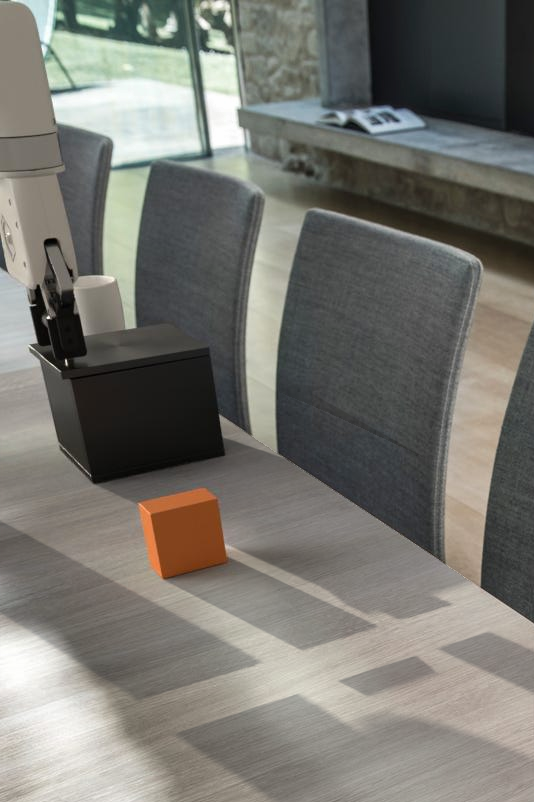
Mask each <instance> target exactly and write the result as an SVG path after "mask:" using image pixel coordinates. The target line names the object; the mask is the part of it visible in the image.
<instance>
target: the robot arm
mask: <svg viewBox="0 0 534 802" xmlns="http://www.w3.org/2000/svg"><path fill="white" fill-rule="evenodd" d="M56 119H57V118H56V113H55V109H54V104H53V99H52V94H51V89H50V84H49V78H48V73H47V68H46V62H45V57H44V52H43V48H42V43H41V38H40V32H39V28H38V24H37V19H36V17H35V15H34V13H33V11H32V10H31V8H30V7H29V6H28V5H26V4H25V3H22V2H20V1H15V0H0V239H1V244H2V245H1V246H2V251H3V255H4V259H5V266H6V269H7V271H8V274H9V276H11V277H12V278H13V279H14V280H16V281H17V282H18V283H20V284H21V285H23V286H25V289H26V296H27V301H28V303H29V311H30V317H31V321H32V326H33V331H34V334H35V338H36V343H38V344H39V345H40V346H49V345H51V346H52V350H53V355H54V357H55V358H56V359H57V360H64V359H70V358H77V357H83V356H86V354H87V349H86V344H85V339H84V334H83V329H82V324H81V319H80V315H79V310H78V307H77V303H76V298H75V295H74V287H73V284H74V283H75V282H76V281H77V279H78V277H79V271H78V270H79V269H78V264H77V258H76V257H77V256H76V253H75V247H74V242H73V237H72V233H71V228H70V223H69V220H68V215H67V210H66V206H65V203H64V197H63V196H64V195H62V190H61V187H60V183H59V179H58V176H57V174H60V173H63V172H65V171H66V165H65V160H64V154H63V148H62V145H61V139H60V134H59V129H58V125H57V120H56ZM46 309H47V312H48V316H49V318H47V319H46V323H47V327H48V328H47V327H46V326H45V325H44V324H43V323H42V321H41V314H42V312H43V311H44V310H46Z"/></svg>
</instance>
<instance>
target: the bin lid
mask: <svg viewBox="0 0 534 802" xmlns="http://www.w3.org/2000/svg"><path fill="white" fill-rule="evenodd" d="M47 318H49V316H48V312H47V309H46V310H44V311H43V312H42V314H41V321H42V323H43V324H44V325H45V326H46V327H47V323H46V319H47ZM47 328H48V327H47ZM125 329H126V330H119V331H113V332H106V333H100V334H93V335H87V336H84V339H85V344H86V349H87V354H86V356H83V357H77V358H70V359H64V360H57V359H56V358H55V357H54V355H53V350H52V346H51V345H49V346H40V345H39V344H38V343H37V342H36V343H35V342H34V343H29V344H28V345H27V346H28V351H29V353H30V354H32V356H34V357H35V358H36V359H37V360H39V362H40V361H41V362H42V363H43V364H45V365H46V366H47V367H48V368H49V369H50V370H52V371H53V372H54V373H55V374H56V375H57V376H59V377H60V378H61V379H62V380H64V379H70V378H76V377H82V376H88V375H94V374H99V373H105V372H111V371H117V370H123V369H129V368H135V367H141V366H147V365H153V364H159V363H164V362H170V361H176V360H182V359H188V358H194V357H200V356H206V355H210V356H211V350H210V346H208V345H207V344H205V343H203V342H201V341H199V340H198V339H196V338H194V337H193V336H191V335H189V334H188V333H186V332H185V331H182V330H181V329H179V328H177V327H176V326H174V325H172V324H171V323H169V322H167V323H160V324H159V323H158V324H153V325H146V326H139V327H133V328H125Z"/></svg>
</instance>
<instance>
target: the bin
mask: <svg viewBox="0 0 534 802" xmlns="http://www.w3.org/2000/svg"><path fill="white" fill-rule="evenodd" d="M39 364H40V368H41V372H42V377H43V381H44V386H45V390H46V395H47V399H48V403H49V408H50V413H51V417H52V420H53V421H52V422H53V426H54V430H55V434H56V438H57V443H58V447H59V451H60V452H62V453H63V455H64V456H65V457H66V458H67V459H68V460H69V461H70V462H71V463H72V464H73V465H74V466H75V467H76V468H77V469H78V470H79V471H80V472H81V473H82V474H83V475H84V476H85V477H86V478H87V479H88V480H89V481H90V482H91V483H92V484H99V483H103V482H108V481H113V480H116V479H121V478H125V477H131V476H134V475H140V474H143V473H145V474H146V473H149V472H153V471H157V470H163V469H167V468H172V467H176V466H180V465H186V464H191V463H194V462H199V461H204V460H209V459H213V458H218V457H222V456H225V455H226V451H225V444H224V438H223V431H222V425H221V417H220V411H219V404H218V397H217V393H216V392H217V391H216V384H215V378H214V370H213V364H212V357H211V354H210V355H206V356H200V357H194V358H188V359H182V360H176V361H170V362H164V363H159V364H153V365H147V366H141V367H135V368H129V369H123V370H117V371H111V372H105V373H99V374H94V375H88V376H82V377H76V378H70V379H64V380H62V379H61V378H60V377H59V376H57V375H56V374H55V373H54V372H53V371H52V370H50V369H49V368H48V367H47V366H46V365H45V364H43V363H42V362H41V361H40V360H39Z"/></svg>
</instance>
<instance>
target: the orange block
mask: <svg viewBox="0 0 534 802" xmlns="http://www.w3.org/2000/svg"><path fill="white" fill-rule="evenodd" d="M137 505H138V509H139V514H140V518H141V524H142V525H141V526H142V530H143V534H144V541H145V546H146V550H147V555H148V560H149V565H150V567H151V568H152V569H153V571H155V573H157V575H158V576H159V577H160V578H161V579H168V578H171V577H175V576H179V575H183V574H187V573H191V572H194V571H198V570H202V569H206V568H209V567H213V566H217V565H221V564H225V563H228V558H227V551H226V544H225V538H224V532H223V525H222V518H221V511H220V506H219V505H220V504H219V499H218V497H216V496H215V495H214V494H212V493H211V492H210V491H209V490H208V489H206V488H205V487H201V488H196V489H192V490H187V491H184V492H183V491H182V492H179V493H175V494H174V493H173V494H170V495H166V496H161V497H157V498H152V499H148V500H144V501H140V502H138V503H137Z"/></svg>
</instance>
